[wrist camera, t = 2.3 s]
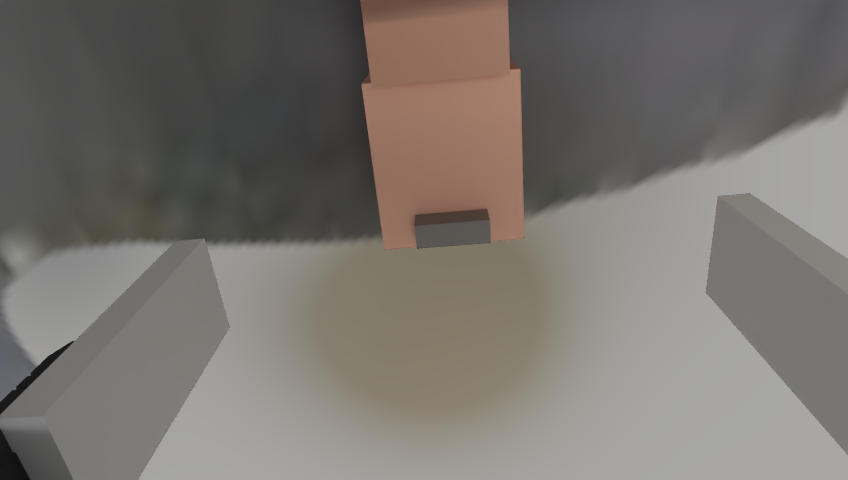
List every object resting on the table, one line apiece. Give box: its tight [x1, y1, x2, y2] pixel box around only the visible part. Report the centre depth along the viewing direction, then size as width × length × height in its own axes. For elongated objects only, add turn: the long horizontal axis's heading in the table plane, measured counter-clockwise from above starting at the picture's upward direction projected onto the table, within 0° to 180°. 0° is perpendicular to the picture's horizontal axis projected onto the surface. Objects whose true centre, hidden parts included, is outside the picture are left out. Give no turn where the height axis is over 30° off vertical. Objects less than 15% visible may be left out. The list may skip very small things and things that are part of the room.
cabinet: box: [360, 0, 524, 249], centre depth 25 cm, size 6×10×9 cm, turn 5°
